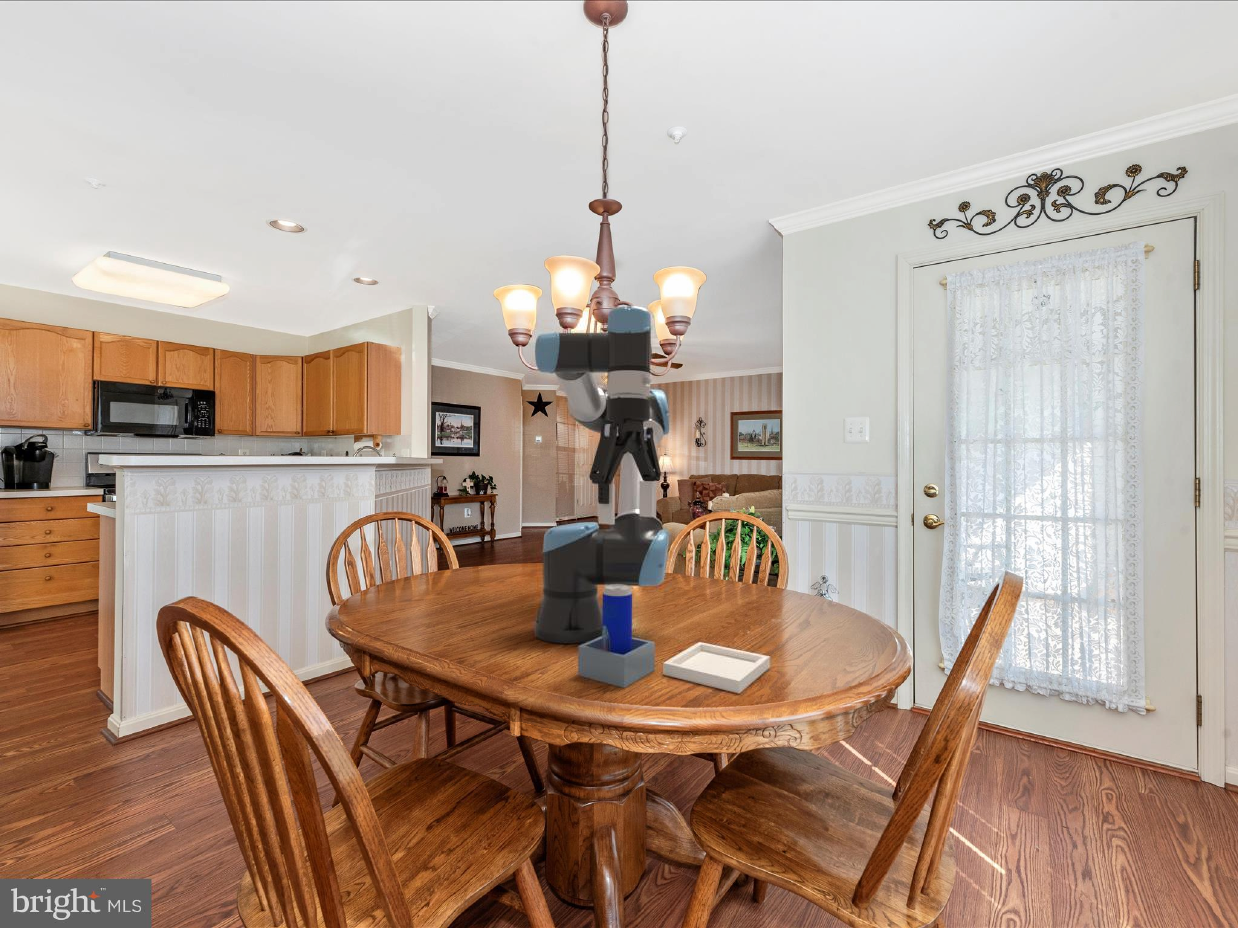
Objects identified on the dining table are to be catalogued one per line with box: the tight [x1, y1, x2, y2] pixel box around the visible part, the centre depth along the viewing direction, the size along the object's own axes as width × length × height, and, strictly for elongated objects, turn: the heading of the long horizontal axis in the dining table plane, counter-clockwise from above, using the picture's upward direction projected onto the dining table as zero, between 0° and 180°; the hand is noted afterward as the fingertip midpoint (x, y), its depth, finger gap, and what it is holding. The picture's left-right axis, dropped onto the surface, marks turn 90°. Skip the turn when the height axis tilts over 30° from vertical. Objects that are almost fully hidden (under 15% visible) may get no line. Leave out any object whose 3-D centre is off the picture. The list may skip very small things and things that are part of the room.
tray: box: [662, 641, 771, 695], centre depth 101 cm, size 14×14×2 cm
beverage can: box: [601, 584, 633, 655], centre depth 100 cm, size 5×5×15 cm
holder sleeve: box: [577, 636, 656, 689], centre depth 100 cm, size 10×10×5 cm
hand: (627, 520), depth 100 cm, fingers open, 13 cm apart
